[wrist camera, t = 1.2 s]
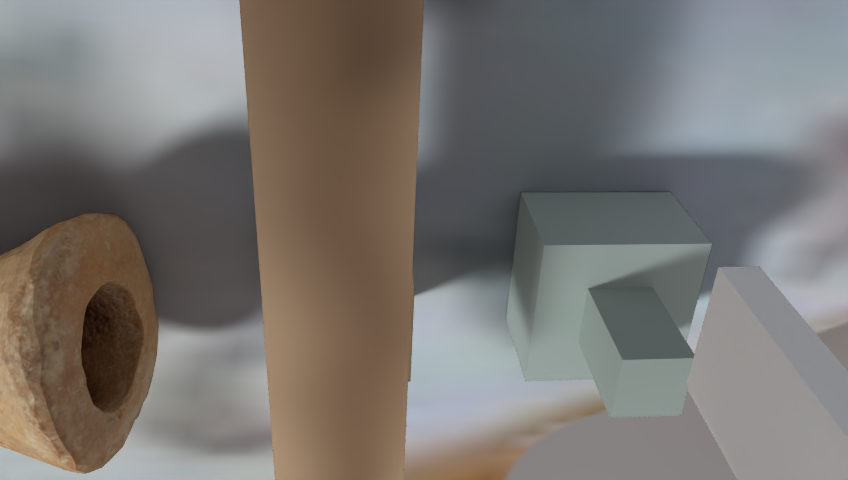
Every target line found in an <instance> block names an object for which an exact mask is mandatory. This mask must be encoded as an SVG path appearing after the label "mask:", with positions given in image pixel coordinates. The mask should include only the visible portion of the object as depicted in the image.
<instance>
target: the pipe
mask: <svg viewBox="0 0 848 480" xmlns="http://www.w3.org/2000/svg"><path fill="white" fill-rule="evenodd" d="M158 325H159V324H158V319H157V315H156V311H155V306H154V298H153V286H152V283H151V280H150V276H149V273H148V269H147V266H146V263H145V260H144V256H143V253H142V251H141V248H140V245H139V242H138V239H137V237H136V236H135V234H134V233H133V231H132V230H131V228H130V227H129V225H128V224H127V223H126V222H125V221H124V220H122V219H121V218H120V217H118V216H117V215H116V214H114V213H85V214H82V215H80V216H77V217H75V218H72V219H70V220H66V221H61V222H58V223H56V224H54V225H52V226H50V227H48V228H46V229H44V230H43V231H42V232H40V233H39V234H38V235H36V236H35V237H34V238H32V239H31V240H29V241H27V242H26V243H24V244H22V245H21V246H19V247H17V248H15V249H12V250H10V251H8V252H6V253H4V254H2V255H0V446H2V447H5V448H8V449H11V450H14V451H16V452H19V453H22V454H24V455H27V456H29V457H32V458H35V459H37V460H40V461H43V462H45V463H48V464H51V465H53V466H56V467H59V468H61V469H64V470H68V471H72V472H76V473H85V474H86V473H88V472H91V471H94V470H97V469H99V468H102V467H103V466H104V465H105V464H106V463H107V462H108V461H109V460H110V459H111V458H112V457H113V456H114V455H115V454H116V453H117V452H118V451H119V450H120V449H121V448H122V447H123V445H124V443H125V441H126V439H127V437H128V435H129V433H130V430H131V428H132V426H133V423H134V421H135V419H136V418H137V417H138V416H139V413H140V411H141V408H142V405H143V402H144V400H145V399H146V397H147V395H148V391H149V388H150V384H151V381H152V377H153V372H154V367H155V361H156V356H157V344H158Z"/></svg>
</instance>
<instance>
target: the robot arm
mask: <svg viewBox="0 0 848 480" xmlns="http://www.w3.org/2000/svg"><path fill="white" fill-rule="evenodd" d="M686 387H687V389H688V391H689V393H690V395H691V396H692V398H693V400H694V402H695V404H696V405H697V407H698V409H699V411H700V412H701V415H702V416H703V418H704V420H705V422H706V424H707V425H708V427H709V429H710V431H711V433H712V434H713V436H714V438H715V440H716V442H717V444H718V445H719V447H720V449H721V451H722V452H723V454H724V456H725V458H726V460H727V462H728V463H729V465H730V467H731V469H732V471H733V472H734V474H735V476H736V478H737V480H848V372H847V370H846V369H845V368H844V367H843V366H842V365H841V363H840V362H839V361H838V360H837V359H836V357H835V356H834V355H833V354H832V352H830V350H829V349H828V348H827V347H826V345H825V344H824V343H823V342H822V341H821V340H820V338H819V337H818V336H817V335H816V333H815V332H814V331H813V330H812V329H811V327H810V326H809V325H808V324H807V323H806V321H805V320H804V319H803V318H802V317H801V315H800V314H799V313H798V312H797V311H796V310H795V308H794V307H793V306H792V305H791V304H790V302H789V301H788V300H787V299H786V298H785V296H784V295H783V294H782V293H781V292H780V290H779V289H778V288H777V287H776V286H775V284H774V283H773V282H772V281H771V280H770V278H769V277H768V276H767V275H766V274H765V273H764V271H763V270H762V269H761V268H760V267H718V271H717V274H716V278H715V281H714V285H713V289H712V292H711V296H710V300H709V303H708V307H707V311H706V314H705V318H704V321H703V325H702V329H701V332H700V336H699V340H698V343H697V347H696V350H695V354H694V358H693V361H692V365H691V369H690V372H689V376H688V379H687V383H686Z"/></svg>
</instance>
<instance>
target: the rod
mask: <svg viewBox="0 0 848 480" xmlns="http://www.w3.org/2000/svg"><path fill="white" fill-rule="evenodd" d="M239 1H240V14H241V28H242V41H243V55H244V68H245V81H246V95H247V108H248V122H249V135H250V149H251V162H252V176H253V189H254V203H255V216H256V229H257V243H258V256H259V270H260V283H261V297H262V310H263V324H264V337H265V350H266V364H267V377H268V391H269V404H270V418H271V431H272V445H273V458H274V472H275V480H404V459H405V435H406V412H407V388H408V364H409V340H410V316H411V293H412V269H413V245H414V221H415V197H416V173H417V150H418V126H419V102H420V78H421V54H422V31H423V7H424V0H239Z"/></svg>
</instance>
